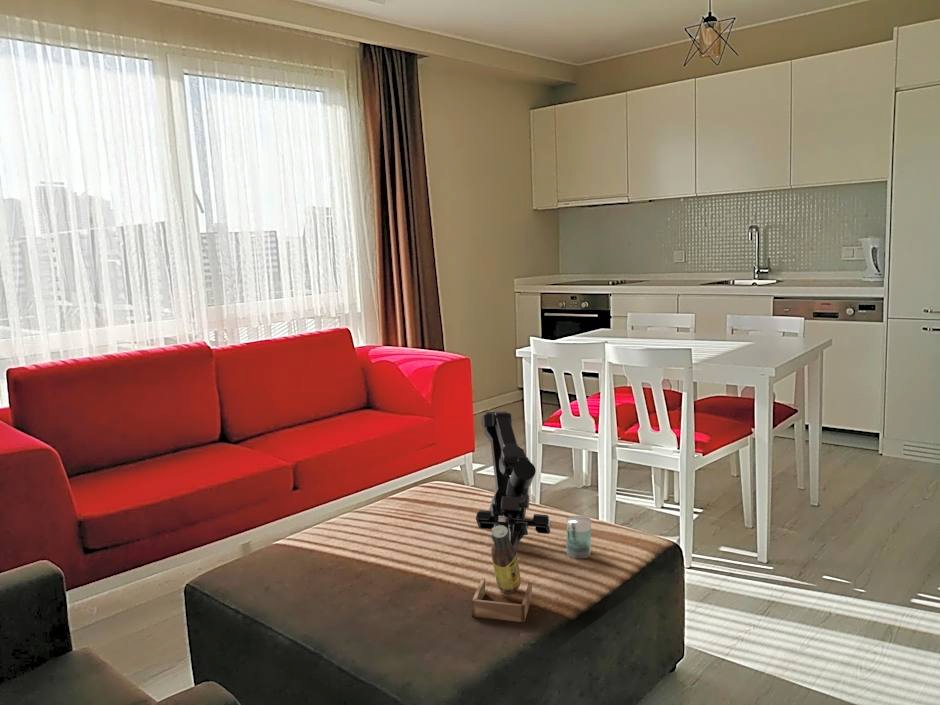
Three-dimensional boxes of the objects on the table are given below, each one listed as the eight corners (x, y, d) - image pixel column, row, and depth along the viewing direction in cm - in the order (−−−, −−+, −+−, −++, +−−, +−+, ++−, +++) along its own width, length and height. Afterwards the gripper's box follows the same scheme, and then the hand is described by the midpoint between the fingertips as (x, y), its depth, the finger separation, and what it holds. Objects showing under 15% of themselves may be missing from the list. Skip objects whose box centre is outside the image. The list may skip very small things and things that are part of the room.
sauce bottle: (519, 595, 197) (510, 544, 185) (495, 593, 199) (484, 543, 187) (523, 573, 202) (514, 522, 190) (499, 571, 204) (489, 521, 192)
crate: (482, 592, 199) (482, 578, 198) (531, 598, 196) (531, 583, 195) (471, 616, 187) (471, 600, 187) (524, 622, 185) (524, 606, 184)
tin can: (563, 550, 223) (563, 516, 221) (585, 547, 224) (586, 514, 223) (571, 560, 217) (571, 526, 215) (594, 558, 218) (595, 523, 216)
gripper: (477, 480, 203) (467, 536, 194) (549, 484, 199) (543, 542, 189) (483, 500, 211) (474, 555, 202) (553, 504, 207) (547, 561, 198)
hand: (509, 553), depth 198 cm, fingers closed
